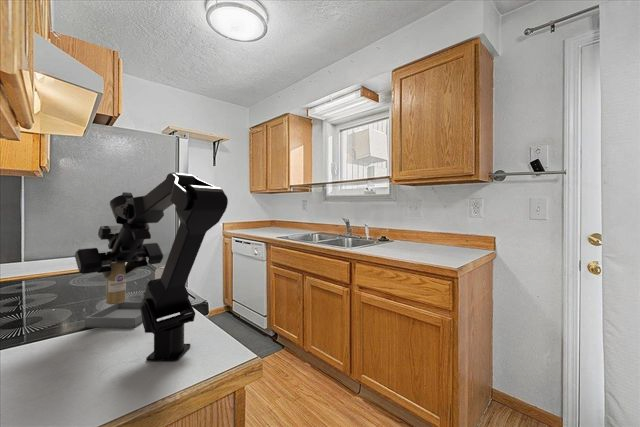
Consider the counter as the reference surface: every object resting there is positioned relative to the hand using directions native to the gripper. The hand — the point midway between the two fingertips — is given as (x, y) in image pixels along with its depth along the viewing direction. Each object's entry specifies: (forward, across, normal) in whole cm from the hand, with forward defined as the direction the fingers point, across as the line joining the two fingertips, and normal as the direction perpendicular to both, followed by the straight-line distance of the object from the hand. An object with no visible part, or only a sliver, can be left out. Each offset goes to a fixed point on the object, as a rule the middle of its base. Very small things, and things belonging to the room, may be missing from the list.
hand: (114, 275), depth 79 cm
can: (+12, -16, +6) cm, 21 cm away
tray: (+8, -3, +9) cm, 13 cm away
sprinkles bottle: (+4, 0, +6) cm, 7 cm away
